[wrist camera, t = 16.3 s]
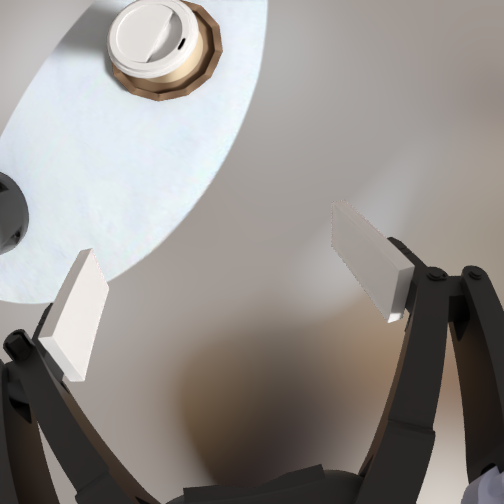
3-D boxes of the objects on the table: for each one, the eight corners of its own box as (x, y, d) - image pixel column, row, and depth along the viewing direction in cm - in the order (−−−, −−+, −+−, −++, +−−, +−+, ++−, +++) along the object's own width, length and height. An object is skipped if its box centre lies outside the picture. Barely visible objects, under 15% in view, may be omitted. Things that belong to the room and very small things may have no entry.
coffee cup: (162, 93, 38) (145, 97, 26) (118, 52, 34) (83, 41, 21) (212, 48, 36) (219, 31, 23) (168, 7, 31) (155, -26, 19)
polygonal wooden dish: (122, 111, 39) (119, 112, 37) (108, 17, 31) (105, 15, 29) (227, 89, 40) (228, 89, 39) (214, -6, 32) (215, -9, 30)
